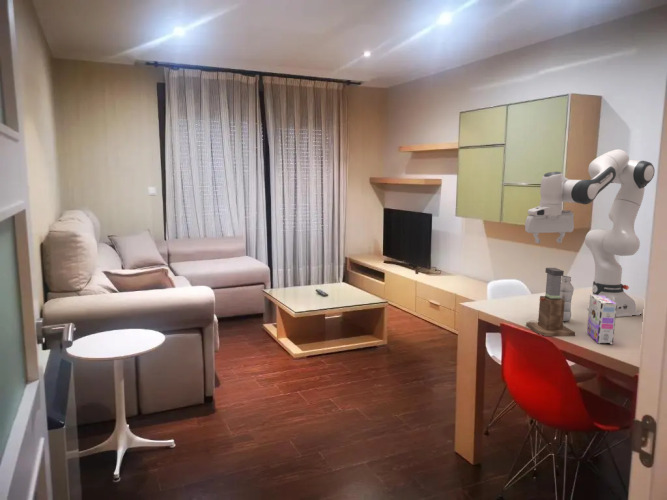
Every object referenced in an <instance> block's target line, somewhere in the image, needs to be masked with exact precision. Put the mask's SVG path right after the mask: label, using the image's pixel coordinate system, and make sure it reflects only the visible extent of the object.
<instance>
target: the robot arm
mask: <svg viewBox="0 0 667 500" xmlns="http://www.w3.org/2000/svg"><path fill="white" fill-rule="evenodd" d="M563 174H564V173H563V172H561V171H549V172H546V173H544V174H543V175H542V178H541V180H540V181H541V182H540V189H539V190H540V192H539V194H540V200H539V205H538V206H536V207H533V208H529V209H528V210H527V214H528V215H527V216H526V219H525V225H524V230H525V232H526V233H528V234H532V236H533V238H534V239H535V241H534V243H535V244H541V243H542V242H541V241H542V239H541V238H539V234H540V233H543V234H545V233H547V234H548V233H559V237H556V243H557V244H559V243H560V244H561V243H563V242H562V241H563V238H564V237H565V236H566V233H573V231H574V230H575V223H574V222H575V221H574V219H575V218H574V217H575V213H574V212H573V211H571V210H567V209H566V210H565V209H564V210H563V202H564V203H571V204H582V205H588V204H590V203H592V202H593V201H594V200H595V199H596V197H597V196H598V195H599V194H600V193H601V192H602V191H603V190H604V189H606V188H607V186H609V185H610V184H619V185H620V188H619V190H618V191H617V193H616V196H615V198H614V200H613V202H612V205H611V208H610V210H609V213H608V218H609V220H610V221H611V222H612V224H613V226H612V230H611V229H605V228H598V229H596V228H595V229H591V230H590V231H588V232H587V233H586V235H585V238H584V244H585V246H586V247H587V248H588V250H590V252H591V255H592V258H593V261H594V280H593V282H592V290H591V291H592V294H591V295H602V296H606V297H607V298H609V299H610V300H612V301H613V302H615V303H616V304H617V309H616V318H620V317H631V316H632V315H636V316H641V315H642V312H641V311H639V310H638V309H637V306H636V305H637V304H636V301H635V300H634V299H633V298H632V297H631V296H630V295H629V294H627V293H626V291H628V290H629V289H630V286H629V285H626V284H622V283H621V282H622V276H623V275H622V273H623V268H622V265H621V264H620V263H619V262H618V261H617V260H616V256H620V257H623V256H624V257H626V256H627V257H628V256H634V255H636V253H638V251H639V249H640V246H641V245H640V244H641V243H640V239H639V237H638V236H637V234H636V232H635V221H636V219H637V216H638V212H639V211H640V208H641V205H642V202H643V199H644V195H645V190H646V189H645V187H647V185H648V184H649V183H651V181H652V180H653V178H654V177H655V167H654V165H653V163H652V162H650V161H647V160H638V159H637V160H636V159H630V157H629V154H628V153H627V151H624V150H622V149H620V148H619V149H613V150H609V151H607V152H605V153H603V154H601V155H599V156H597V157H596V158H594V159H593V160H592V161H591V162H590V163H589V165H588V175H589V176H590V178H591V179H569V178H567V177H565V175H563ZM624 290H626V291H624ZM587 310H588V311H589V306H588V308H587ZM640 314H641V315H640Z"/></svg>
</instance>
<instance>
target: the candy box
mask: <svg viewBox="0 0 667 500" xmlns="http://www.w3.org/2000/svg"><path fill="white" fill-rule="evenodd" d="M588 304H589V305H588V307H589V310H588V317H587V328H586V329H587V330H586V331H587V332H586V333H588V334H589V335H588V334H587V335H588V336H590V337H591V339H593V340H594V341H595V342H596V343H597V344H600V343H613V344H614V335H615V326H616V318H617V317H616V309H617V304H616V303H615V302H613V301H612V300H610V299H609V298H607V297H606V296H602V295H592V294H589V303H588Z"/></svg>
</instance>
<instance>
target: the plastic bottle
mask: <svg viewBox="0 0 667 500" xmlns="http://www.w3.org/2000/svg"><path fill="white" fill-rule="evenodd" d="M571 282H572V276H570V275H569V276H568V275H563V276H561V287H560V298H561V299H563V300H565V305H564V317H563V322H570V321H571V319H572V309H571V308H572V299H573V298H572V297H573V294H574V290H575V288H574V285H572V283H571Z"/></svg>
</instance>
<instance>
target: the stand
mask: <svg viewBox="0 0 667 500" xmlns="http://www.w3.org/2000/svg"><path fill="white" fill-rule="evenodd" d="M538 305H539V306H538V307H539V308H538V320H537V321H536V322H535V321H529V322H528V321H527V322H526V323H525V326H526V327H527V328H529V329H530V330H532V332H534V333H536V334H537V333H539V334H541V335H544V336H543V337H575V335H576V331H574V330H572V329H571V328H568V327H567V326H565V325H564V321H563V317H564V305H565V300H563V299H561V298H560V299H552V300H550V299H548V298H546V297H545V295H540V296H539V304H538ZM539 334H538V335H539Z"/></svg>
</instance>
